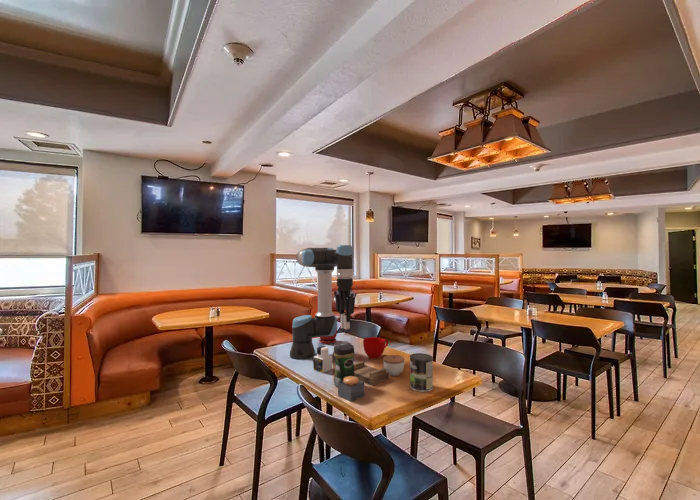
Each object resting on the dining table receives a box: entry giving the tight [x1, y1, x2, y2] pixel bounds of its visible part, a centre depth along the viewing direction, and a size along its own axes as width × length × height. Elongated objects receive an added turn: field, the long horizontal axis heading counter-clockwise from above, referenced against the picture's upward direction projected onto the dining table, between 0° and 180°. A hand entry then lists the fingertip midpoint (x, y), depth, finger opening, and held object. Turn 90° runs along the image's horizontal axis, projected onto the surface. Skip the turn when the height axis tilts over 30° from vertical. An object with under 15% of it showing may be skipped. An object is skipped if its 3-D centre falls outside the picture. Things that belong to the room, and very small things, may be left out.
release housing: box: [337, 380, 365, 402], centre depth 144 cm, size 8×8×6 cm
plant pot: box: [319, 329, 338, 345], centre depth 232 cm, size 13×13×12 cm
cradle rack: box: [354, 361, 390, 387], centre depth 166 cm, size 18×12×5 cm, turn 44°
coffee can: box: [409, 352, 434, 393], centre depth 153 cm, size 10×10×14 cm
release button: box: [343, 376, 359, 386], centre depth 144 cm, size 6×6×7 cm
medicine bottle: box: [312, 345, 333, 374], centre depth 177 cm, size 7×7×12 cm
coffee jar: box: [333, 343, 356, 388], centre depth 157 cm, size 10×8×19 cm
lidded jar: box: [382, 354, 405, 377], centre depth 171 cm, size 11×11×9 cm
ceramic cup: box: [362, 336, 389, 360], centre depth 199 cm, size 13×17×10 cm
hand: (345, 328), depth 157 cm, fingers open, 2 cm apart
